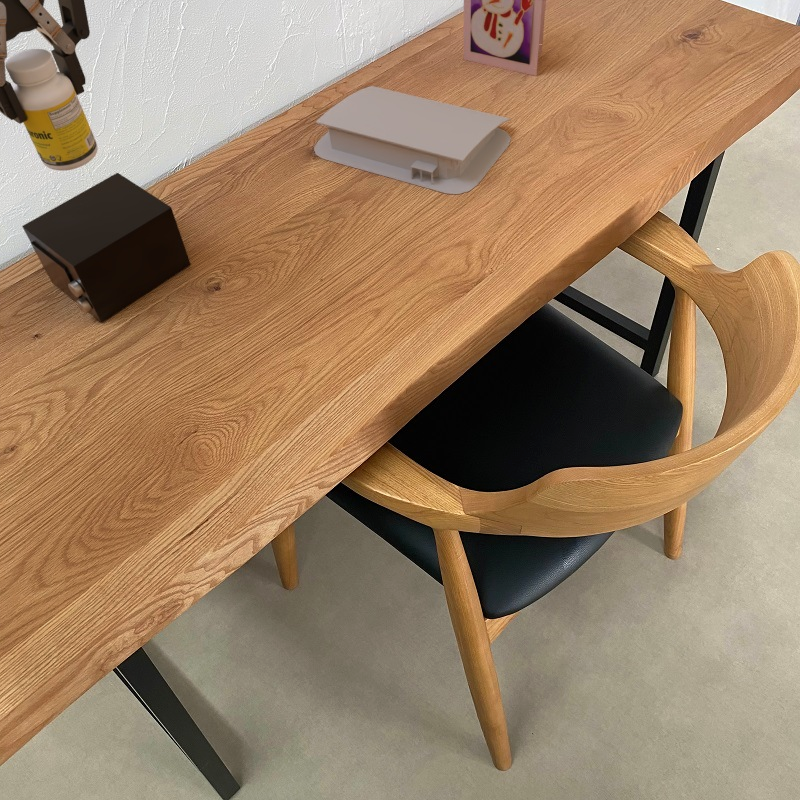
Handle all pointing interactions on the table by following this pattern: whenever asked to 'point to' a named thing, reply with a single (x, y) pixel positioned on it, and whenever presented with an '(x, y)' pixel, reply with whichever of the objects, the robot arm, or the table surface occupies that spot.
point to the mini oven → (109, 246)
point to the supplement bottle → (51, 111)
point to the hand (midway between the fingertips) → (47, 104)
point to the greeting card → (504, 33)
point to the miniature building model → (413, 139)
